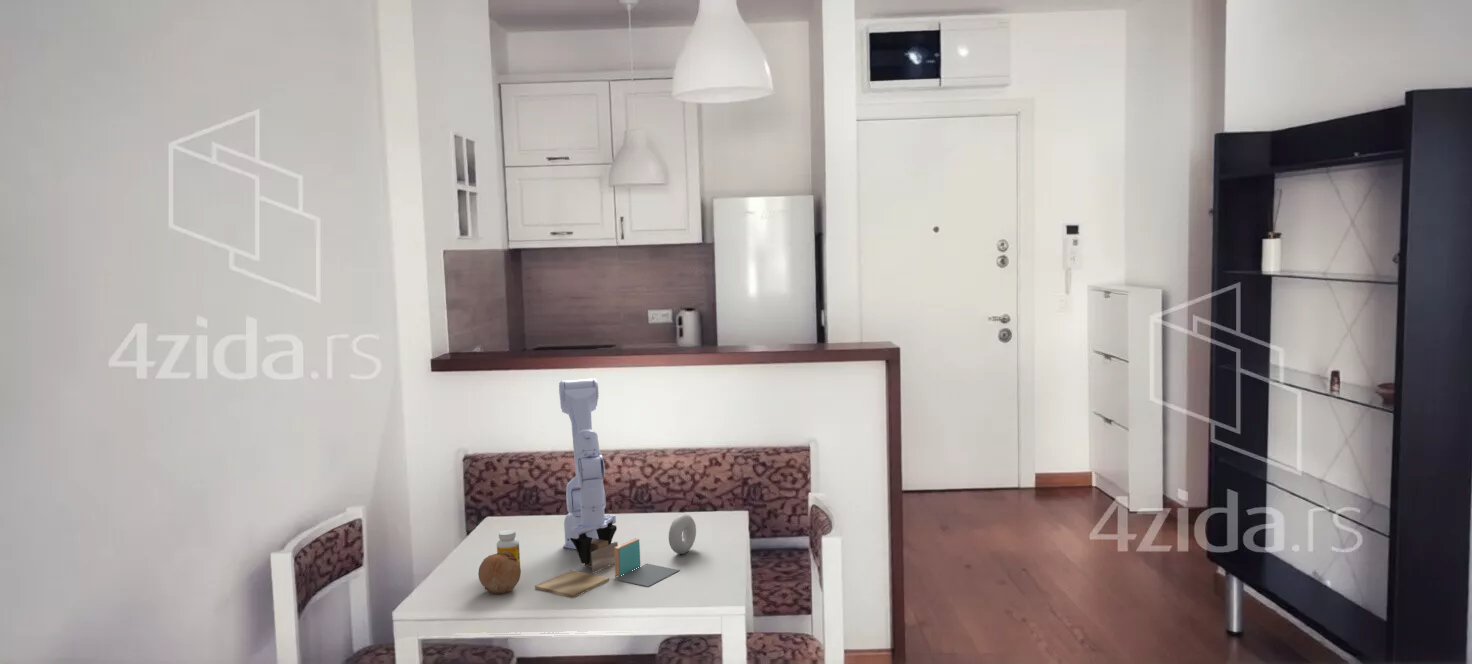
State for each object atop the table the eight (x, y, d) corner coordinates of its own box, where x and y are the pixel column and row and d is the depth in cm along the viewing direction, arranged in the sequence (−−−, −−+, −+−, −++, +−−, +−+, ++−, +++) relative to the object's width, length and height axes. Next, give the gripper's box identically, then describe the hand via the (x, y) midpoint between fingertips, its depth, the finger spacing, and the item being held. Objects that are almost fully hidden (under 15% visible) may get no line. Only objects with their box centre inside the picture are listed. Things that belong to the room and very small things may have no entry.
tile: (615, 576, 219) (613, 547, 218) (636, 566, 225) (635, 538, 225) (619, 577, 218) (618, 548, 217) (641, 567, 225) (639, 539, 224)
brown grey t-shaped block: (576, 569, 225) (575, 545, 224) (601, 558, 232) (600, 534, 232) (594, 572, 222) (592, 548, 221) (618, 561, 229) (617, 538, 229)
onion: (515, 598, 215) (531, 557, 217) (505, 603, 206) (522, 559, 207) (477, 584, 215) (494, 543, 217) (466, 588, 206) (483, 545, 208)
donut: (678, 560, 229) (676, 520, 228) (666, 558, 230) (664, 519, 229) (699, 548, 237) (698, 510, 236) (688, 546, 239) (686, 508, 238)
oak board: (535, 588, 213) (534, 585, 213) (571, 572, 223) (571, 569, 222) (573, 597, 206) (573, 595, 206) (608, 580, 216) (608, 578, 216)
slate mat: (614, 579, 216) (614, 579, 216) (646, 564, 226) (646, 563, 226) (648, 587, 211) (648, 586, 211) (679, 570, 221) (679, 570, 221)
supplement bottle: (496, 568, 227) (493, 531, 226) (517, 565, 229) (515, 527, 229) (500, 575, 222) (498, 536, 221) (522, 571, 225) (520, 533, 224)
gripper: (584, 514, 218) (587, 570, 219) (623, 499, 230) (626, 552, 231) (562, 511, 222) (565, 565, 223) (602, 496, 234) (605, 548, 235)
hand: (595, 558), depth 227 cm, fingers open, 7 cm apart
